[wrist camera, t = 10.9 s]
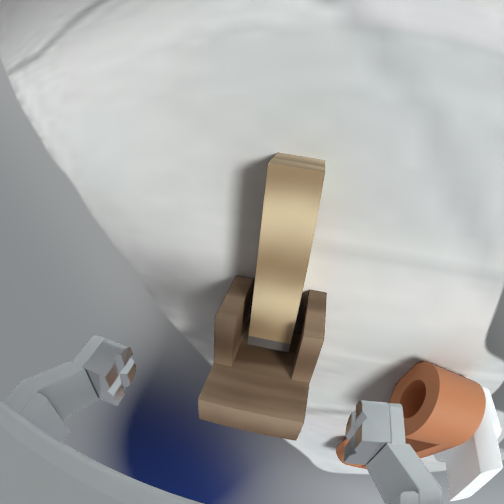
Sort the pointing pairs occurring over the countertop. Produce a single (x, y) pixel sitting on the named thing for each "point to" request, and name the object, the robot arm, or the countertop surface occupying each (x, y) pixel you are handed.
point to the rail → (284, 247)
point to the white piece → (474, 456)
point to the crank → (435, 409)
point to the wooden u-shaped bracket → (260, 369)
